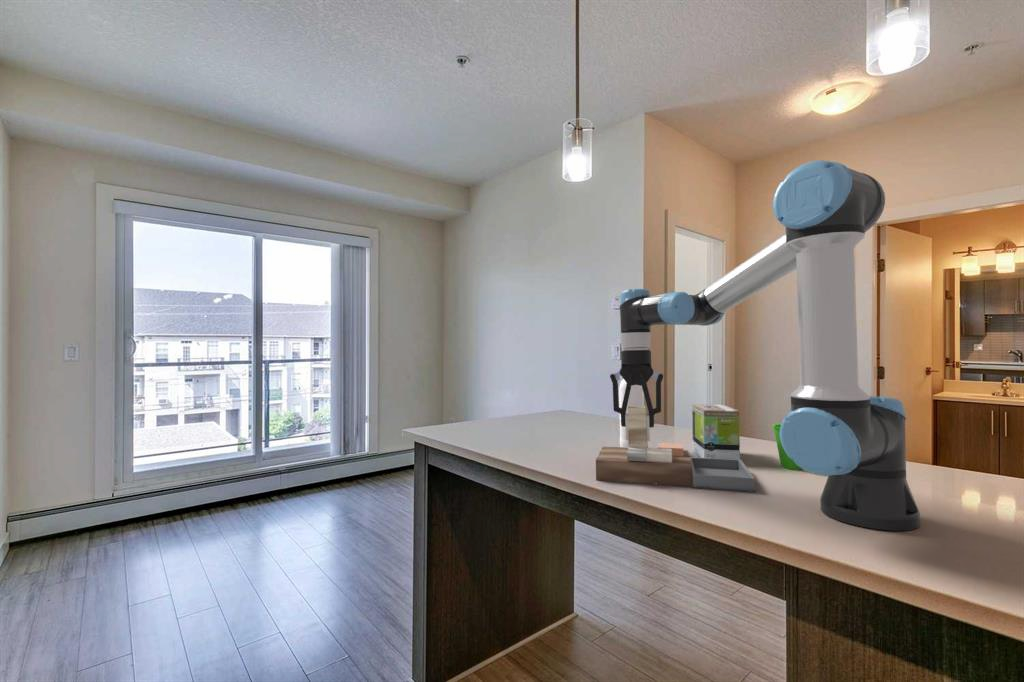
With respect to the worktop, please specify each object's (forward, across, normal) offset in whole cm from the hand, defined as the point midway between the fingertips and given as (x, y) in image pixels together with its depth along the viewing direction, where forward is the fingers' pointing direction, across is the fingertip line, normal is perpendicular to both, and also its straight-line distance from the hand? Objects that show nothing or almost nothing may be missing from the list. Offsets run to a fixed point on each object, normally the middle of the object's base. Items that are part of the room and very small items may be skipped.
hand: (637, 439), depth 122 cm
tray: (+9, -19, 0) cm, 21 cm away
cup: (+9, -39, -16) cm, 43 cm away
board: (+9, -1, 0) cm, 9 cm away
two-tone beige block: (+4, 0, 0) cm, 4 cm away
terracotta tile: (+4, -8, -4) cm, 10 cm away
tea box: (+9, -21, -25) cm, 34 cm away
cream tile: (+4, -5, +4) cm, 7 cm away
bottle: (+9, +3, -30) cm, 32 cm away
